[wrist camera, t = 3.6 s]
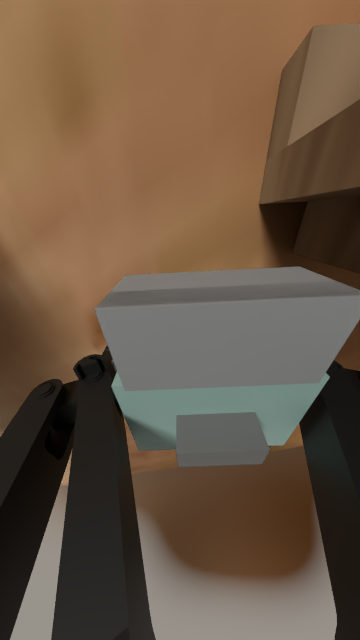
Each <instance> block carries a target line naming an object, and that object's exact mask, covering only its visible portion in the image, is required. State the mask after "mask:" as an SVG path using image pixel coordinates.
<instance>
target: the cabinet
mask: <svg viewBox="0 0 360 640" xmlns="http://www.w3.org/2000/svg"><path fill="white" fill-rule="evenodd" d="M95 312H96V315H97V318H98V320H99V323H100V326H101V328H102V331H103V334H104V336H105V339H106V342H107V344H108V347H109V350H110V353H111V355H112V358H113V361H114V363H115V366H116V369H117V373H116V375H115V378H114V380H113V383H112V386H111V387H112V389H113V391H114V394H115V396H116V398H117V401H118V403H119V405H120V408H121V410H122V412H123V415H124V417H125V419H126V421H127V424H128V426H129V428H130V431H131V433H132V435H133V438H134V440H135V442H136V444H137V447H138V449H139V451H142V450H169V449H176V455H177V462H178V467H195V466H223V465H251V464H262V463H263V461H264V460H265V458H266V456H267V455H268V453H269V451H270V449H269V446H278V445H284V444H285V443H286V441H287V440H288V438H289V437H290V435H291V434H292V432H293V431H294V429H295V428H296V426H297V425H298V424H299V422H300V421H301V419H302V418H303V416H304V415H305V413H306V412H307V410H308V409H309V407H310V406H311V404H312V403H313V401H314V400H315V398H316V397H317V396H318V394H319V393H320V391H321V390H322V388H323V387H324V385H325V384H326V382H327V381H328V379H329V378H330V377H329V375H328V374H327V373H326V371H327V370H328V368H329V367H330V365H331V363H332V362H333V360H334V359H335V357H336V356H337V354H338V353H339V351H340V349H341V348H342V346H343V345H344V343H345V342H346V340H347V339H348V337H349V335H350V334H351V332H352V331H353V329H354V328H355V326H356V325H357V323H358V321H359V320H360V290H358V289H356V288H353V287H351V286H348V285H345V284H343V283H340V282H338V281H335V280H333V279H330V278H328V277H325V276H323V275H320V274H317V273H315V272H312V271H310V270H307V269H305V268H302V267H300V266H299V267H279V268H259V269H239V270H220V271H200V272H180V273H161V274H141V275H125V277H124V278H123V279H122V280H121V281H120V282H119V283H118V284H117V285H116V286H115V288H114V289H113V290H112V291H111V292H110V293H109V294H108V295H107V296H106V297H105V299H104V300H103V301H102V302H101V303H100V304H99V305H98V306H97V307H96V308H95Z"/></svg>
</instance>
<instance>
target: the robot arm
mask: <svg viewBox="0 0 360 640" xmlns="http://www.w3.org/2000/svg"><path fill="white" fill-rule="evenodd" d="M73 370H74V372H75V373H76V375H77V377H78V378H79V380H76V381H73V382H70V383H66V384H63V383H62V381H60V380H58V379H52V380H48V381H45V382H43V383H42V384H40V385H38V386H37V387H36V388H34V390H33V391H32V392H31V393H30V394H29V396H28V397H27V399H26V400H25V402H24V403H23V404H22V406H21V407H20V409H19V410H18V412H17V413H16V415H15V416H14V418H13V419H12V421H11V422H10V424H9V425H8V427H7V428H6V430H5V431H4V433H3V434H2V436H1V437H0V640H10V637H11V634H12V631H13V628H14V625H15V622H16V619H17V615H18V613H19V609H20V607H21V603H22V600H23V597H24V594H25V591H26V588H27V585H28V582H29V579H30V576H31V572H32V570H33V567H34V564H35V561H36V558H37V555H38V551H39V548H40V545H41V542H42V539H43V536H44V533H45V530H46V527H47V524H48V521H49V518H50V515H51V512H52V508H53V506H54V503H55V500H56V496H57V493H58V490H59V487H60V484H61V481H62V478H63V475H64V472H65V469H66V466H67V463H68V460H69V457H70V454H71V451H72V458H71V467H70V476H69V485H68V494H67V503H66V512H65V521H64V530H63V540H62V549H61V558H60V566H59V575H58V584H57V593H56V602H55V612H54V620H53V629H52V639H51V640H156V639H155V635H154V632H153V628H152V623H151V617H150V610H149V603H148V596H147V588H146V580H145V573H144V565H143V559H142V551H141V543H140V536H139V529H138V521H137V514H136V506H135V498H134V491H133V484H132V476H131V469H130V461H129V454H128V446H127V439H126V431H125V424H124V417H123V412H122V410H121V408H120V405H119V403H118V401H117V398H116V396H115V394H114V391H113V389H112V387H111V386H112V383H113V380H114V378H115V375H116V373H117V369H116V366H115V363H114V361H113V358H112V355H111V353H110V350H109V347H108V346H106V348H105V350H104V352H103V354H102V355H97V354H94V355H89V356H87V357H84V358H83V359H81V360H80V361H78V362H77V363H76V365H75V366H74V369H73ZM326 373H327V374H328V375H329V377H330V378H329V379H328V381H327V382H326V384H325V385H324V387H323V388H322V390H321V391H320V393H319V394H318V396H317V397H316V398H315V400H314V401H313V403H312V404H311V406H310V407H309V409H308V410H307V412H306V413H305V415H304V416H303V418H302V419H301V421H300V422H299V424H300V429H301V434H302V439H303V444H304V449H305V454H306V460H307V465H308V470H309V475H310V480H311V485H312V489H313V494H314V500H315V505H316V510H317V515H318V520H319V525H320V531H321V535H322V541H323V545H324V551H325V556H326V561H327V566H328V571H329V576H330V581H331V586H332V591H333V596H334V601H335V607H336V613H337V627H336V633H335V640H360V371H356V370H350V369H345V368H343V367H342V366H341V365H340V364H339V363H337V362H336V361H334V360H333V362H332V363H331V365H330V367H329V368H328V370H327V371H326ZM72 448H73V449H72Z"/></svg>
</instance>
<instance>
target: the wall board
mask: <svg viewBox="0 0 360 640" xmlns="http://www.w3.org/2000/svg"><path fill="white" fill-rule="evenodd" d="M290 202H307V205H306V209H305V212H304V215H303V219H302V222H301V225H300V229H299V232H298V235H297V238H296V242H295V245H294V248H293V252H292V253H293V254H297V255H300V256H303V257H307V258H310V259H313V260H317V261H320V262H323V263H326V264H330V265H333V266H336V267H340V268H343V269H346V270H350V271H353V272H356V273H360V23H349V24H334V25H320V26H313V27H312V29H311V30H310V32H309V33H308V34H307V36H306V37H305V39H304V40H303V41H302V43H301V44H300V46H299V47H298V49H297V50H296V51H295V53H294V54H293V56H292V57H291V58H290V60H289V61H288V63H287V64H286V65H285V67H284V68H283V70H282V74H281V80H280V86H279V92H278V97H277V103H276V109H275V115H274V120H273V126H272V132H271V138H270V144H269V149H268V155H267V161H266V167H265V172H264V178H263V184H262V190H261V195H260V201H259V204H272V203H290Z"/></svg>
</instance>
